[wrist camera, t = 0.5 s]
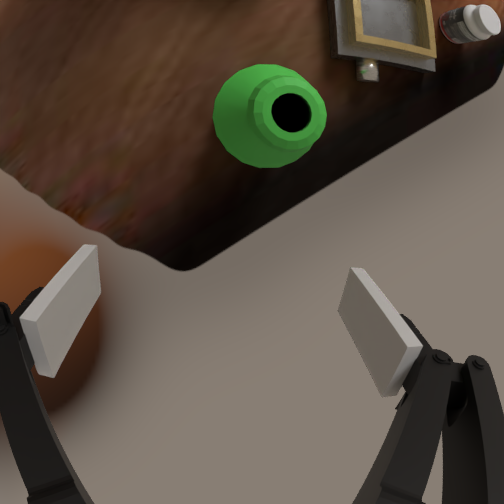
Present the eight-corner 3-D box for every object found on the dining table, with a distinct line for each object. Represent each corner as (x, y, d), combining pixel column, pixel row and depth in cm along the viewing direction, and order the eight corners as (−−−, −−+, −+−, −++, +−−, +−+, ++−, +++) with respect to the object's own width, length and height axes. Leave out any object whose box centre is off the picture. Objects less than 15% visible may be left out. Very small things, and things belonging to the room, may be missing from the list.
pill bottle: (447, 7, 31) (486, -5, 22) (468, 34, 33) (508, 27, 24) (432, 22, 33) (471, 10, 24) (453, 50, 34) (494, 44, 25)
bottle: (299, 129, 39) (393, 147, 16) (241, 163, 40) (263, 224, 18) (263, 72, 36) (317, 10, 13) (205, 107, 37) (172, 87, 14)
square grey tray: (323, -33, 29) (335, -48, 24) (415, -12, 30) (434, -21, 25) (331, 78, 36) (346, 73, 31) (424, 92, 37) (446, 91, 32)
